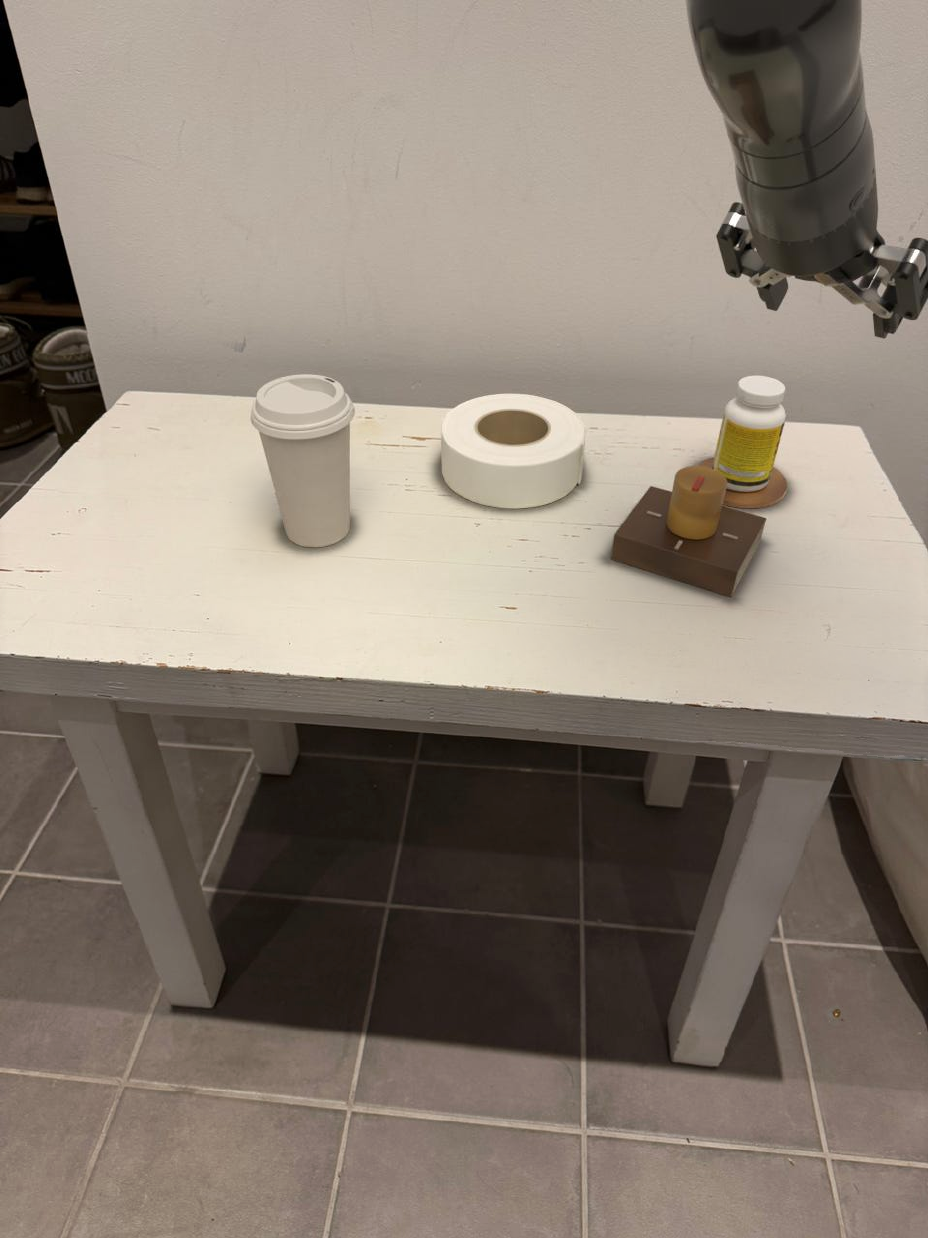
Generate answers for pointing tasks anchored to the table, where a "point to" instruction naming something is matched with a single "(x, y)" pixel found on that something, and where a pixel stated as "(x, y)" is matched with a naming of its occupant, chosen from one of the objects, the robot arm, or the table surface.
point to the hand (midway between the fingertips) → (830, 312)
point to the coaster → (757, 498)
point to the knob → (696, 502)
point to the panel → (688, 545)
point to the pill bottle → (751, 434)
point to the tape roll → (512, 450)
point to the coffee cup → (308, 454)
